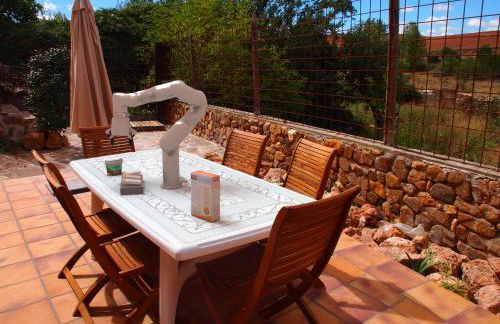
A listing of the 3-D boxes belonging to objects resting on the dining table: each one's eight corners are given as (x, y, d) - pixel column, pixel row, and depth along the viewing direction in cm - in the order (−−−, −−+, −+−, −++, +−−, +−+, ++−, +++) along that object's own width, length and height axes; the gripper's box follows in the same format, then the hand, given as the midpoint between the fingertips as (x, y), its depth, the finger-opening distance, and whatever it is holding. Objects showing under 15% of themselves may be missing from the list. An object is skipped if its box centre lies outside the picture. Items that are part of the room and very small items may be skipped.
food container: (111, 177, 249) (110, 161, 246) (105, 175, 252) (104, 160, 250) (127, 173, 258) (126, 158, 256) (121, 172, 262) (121, 157, 260)
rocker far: (140, 172, 238) (140, 169, 238) (140, 174, 234) (140, 171, 234) (123, 175, 236) (123, 173, 236) (123, 177, 232) (122, 174, 232)
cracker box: (220, 219, 181) (220, 175, 176) (211, 222, 176) (210, 177, 172) (200, 212, 190) (200, 169, 185) (190, 215, 185) (189, 171, 181)
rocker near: (140, 182, 222) (141, 179, 221) (140, 184, 218) (141, 181, 218) (122, 181, 219) (122, 178, 218) (121, 182, 215) (122, 180, 215)
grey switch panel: (142, 179, 246) (142, 172, 245) (143, 193, 216) (143, 186, 215) (122, 180, 243) (122, 173, 242) (120, 195, 213) (120, 188, 212)
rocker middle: (140, 178, 230) (140, 175, 230) (140, 180, 226) (141, 177, 226) (122, 177, 227) (122, 174, 227) (122, 178, 223) (122, 176, 223)
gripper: (137, 115, 225) (138, 144, 229) (106, 114, 225) (108, 144, 228) (134, 116, 218) (135, 147, 222) (102, 115, 217) (104, 146, 221)
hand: (121, 145), depth 225 cm, fingers open, 9 cm apart
